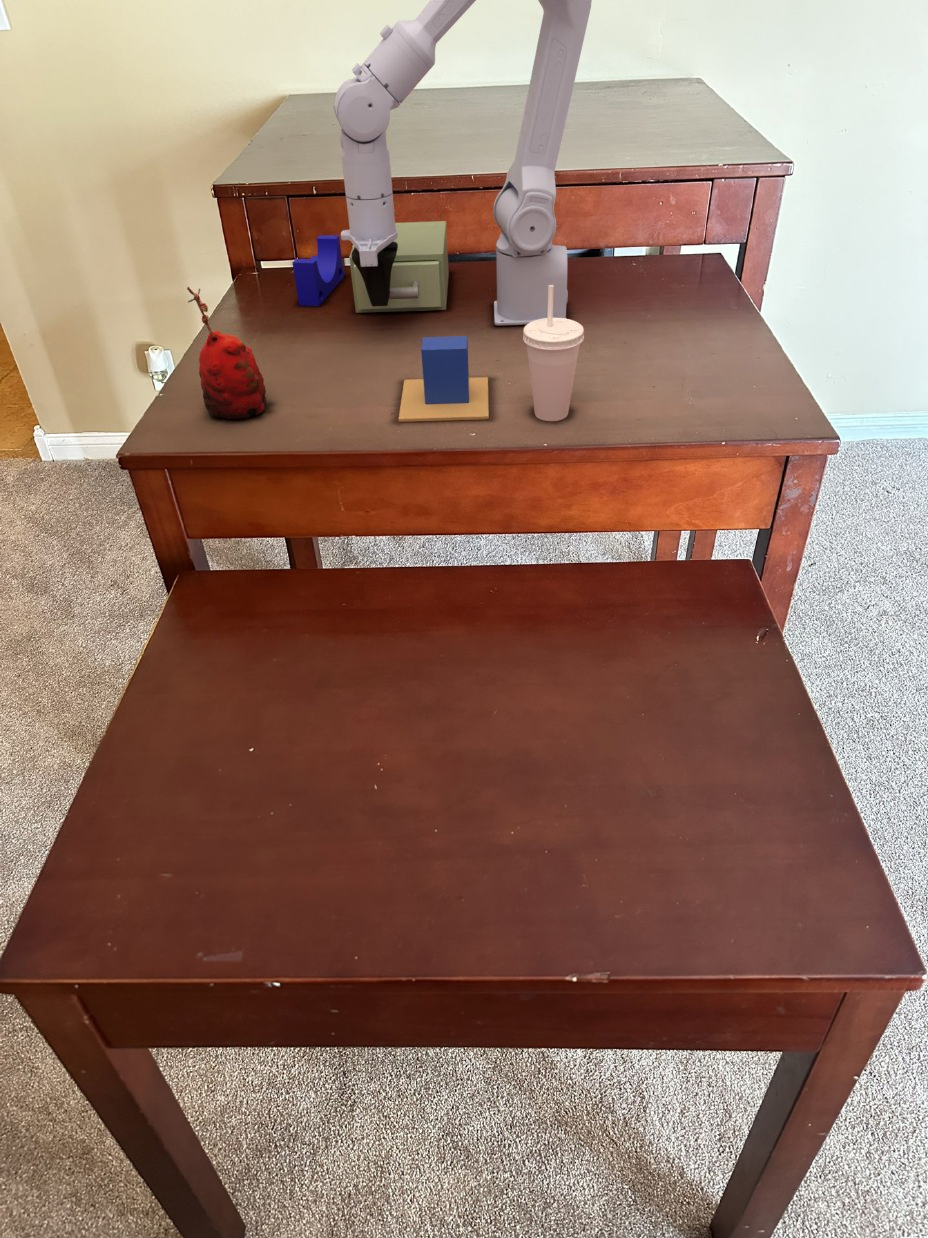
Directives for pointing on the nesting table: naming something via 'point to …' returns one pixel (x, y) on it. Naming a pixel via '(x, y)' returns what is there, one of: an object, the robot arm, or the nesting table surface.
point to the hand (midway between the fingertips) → (380, 304)
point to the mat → (419, 411)
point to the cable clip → (319, 272)
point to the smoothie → (552, 362)
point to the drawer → (406, 286)
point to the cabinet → (418, 256)
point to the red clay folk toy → (229, 374)
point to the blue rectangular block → (445, 369)
